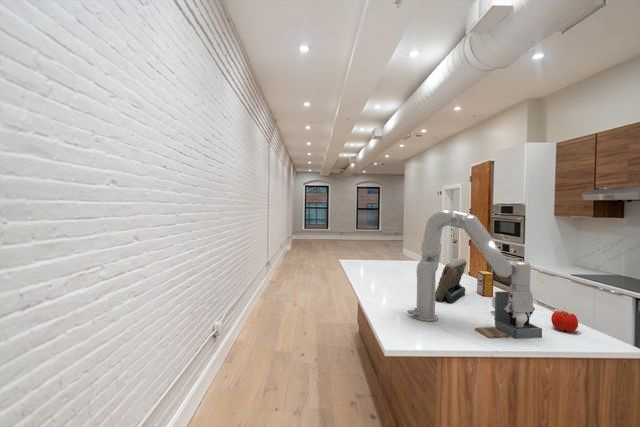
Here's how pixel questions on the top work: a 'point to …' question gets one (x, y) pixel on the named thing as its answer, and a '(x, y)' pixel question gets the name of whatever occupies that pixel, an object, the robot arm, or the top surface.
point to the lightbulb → (520, 320)
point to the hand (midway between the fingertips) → (519, 324)
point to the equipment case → (504, 320)
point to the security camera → (493, 305)
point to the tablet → (451, 282)
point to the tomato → (564, 321)
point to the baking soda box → (485, 283)
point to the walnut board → (491, 332)
